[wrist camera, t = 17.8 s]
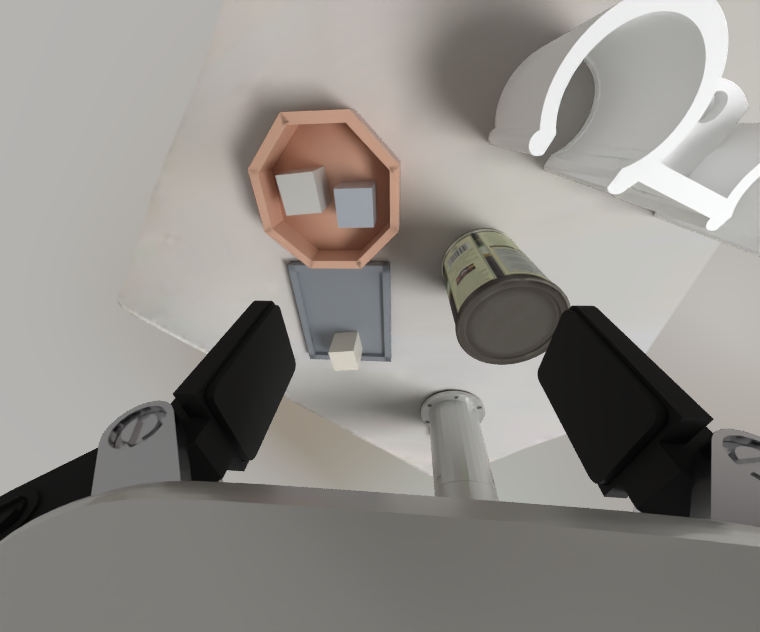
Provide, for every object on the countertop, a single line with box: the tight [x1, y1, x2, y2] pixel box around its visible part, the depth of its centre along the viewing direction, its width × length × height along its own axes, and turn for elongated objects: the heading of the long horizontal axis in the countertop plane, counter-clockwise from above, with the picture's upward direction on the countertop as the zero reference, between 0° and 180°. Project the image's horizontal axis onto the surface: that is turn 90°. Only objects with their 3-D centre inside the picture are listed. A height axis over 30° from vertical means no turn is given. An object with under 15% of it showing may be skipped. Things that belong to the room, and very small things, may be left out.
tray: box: [287, 261, 391, 362], centre depth 43 cm, size 18×14×1 cm
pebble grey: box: [275, 166, 331, 216], centre depth 31 cm, size 4×4×5 cm
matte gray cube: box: [334, 180, 378, 228], centre depth 31 cm, size 4×4×5 cm
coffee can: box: [441, 229, 570, 365], centre depth 32 cm, size 10×10×14 cm
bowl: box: [248, 109, 400, 269], centre depth 32 cm, size 16×16×4 cm
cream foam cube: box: [328, 331, 363, 371], centre depth 44 cm, size 4×4×5 cm
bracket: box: [488, 0, 760, 256], centre depth 24 cm, size 25×10×12 cm, turn 69°
